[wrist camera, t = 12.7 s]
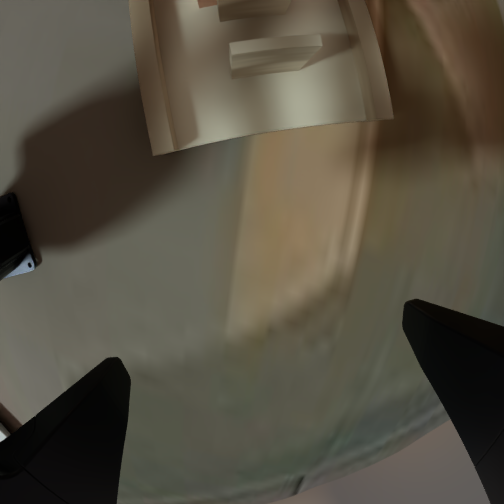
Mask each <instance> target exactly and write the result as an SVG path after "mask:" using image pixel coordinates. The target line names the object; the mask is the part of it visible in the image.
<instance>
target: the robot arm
mask: <svg viewBox="0 0 504 504" xmlns="http://www.w3.org/2000/svg"><path fill="white" fill-rule="evenodd" d="M10 197H11V200H10ZM30 263H31V264H32V265H31V264H30ZM36 267H37V263H36V260H35V257H34V254H33V251H32V249H31V246H30V243H29V240H28V237H27V233H26V230H25V227H24V224H23V220H22V217H21V213H20V210H19V206H18V202H17V198H16V195H15V194H14V193H13V192H11V193H8V194H6V195H4V196H2V197H0V281H1V280H2V279H4V278H7V277H11V276H14V275H18V274H22V273H26V272H29V271H32V270H34V269H35V268H36ZM402 327H403V330H404V333H405V335H406V337H407V339H408V341H409V343H410V345H411V347H412V349H413V351H414V354H415V356H416V358H417V360H418V362H419V364H420V366H421V368H422V370H423V372H424V373H425V375H426V377H427V378H428V380H429V382H430V383H431V385H432V387H433V388H434V390H435V392H436V394H437V395H438V397H439V399H440V401H441V403H442V404H443V406H444V408H445V410H446V412H447V413H448V415H449V417H450V419H451V421H452V423H453V424H454V426H455V428H456V430H457V432H458V434H459V436H460V438H461V440H462V442H463V444H464V446H465V448H466V450H467V452H468V454H469V456H470V458H471V460H472V462H473V464H474V466H475V469H476V471H477V473H478V475H479V478H480V480H481V482H482V484H483V487H484V489H485V491H486V494H487V496H488V498H489V501H490V503H491V504H504V326H500V325H497V324H494V323H491V322H488V321H485V320H482V319H479V318H476V317H473V316H470V315H466V314H463V313H460V312H457V311H454V310H451V309H448V308H445V307H442V306H438V305H435V304H432V303H429V302H426V301H423V300H420V299H413V300H409V301H407V302H405V304H404V310H403V320H402ZM130 387H131V379H130V376H129V374H128V372H127V370H126V368H125V366H124V365H123V363H122V361H121V359H120V358H118V357H109V358H106V359H105V360H104V361H102V362H101V363H100V364H99V365H97V366H96V367H95V368H94V369H92V370H91V371H90V372H89V373H87V374H86V375H85V376H84V377H82V378H81V379H80V380H79V381H77V382H76V383H75V384H74V385H72V386H71V387H70V388H69V389H67V390H66V391H65V392H64V393H63V394H61V395H60V396H59V397H58V398H56V399H55V400H54V401H53V402H51V403H50V404H49V405H48V406H46V407H45V408H44V409H43V410H42V411H40V412H39V413H38V414H37V415H36V417H35V416H34V417H33V418H32V419H30V420H29V421H28V422H27V423H25V424H24V425H23V426H22V427H20V428H19V429H18V430H16V431H15V432H14V433H12V434H11V435H9V436H8V437H7V438H5V439H4V440H2V441H1V442H0V504H117V495H118V486H119V477H120V470H121V462H122V455H123V449H124V442H125V436H126V430H127V423H128V413H129V399H130Z"/></svg>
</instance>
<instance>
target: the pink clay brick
mask: <svg viewBox="0 0 504 504" xmlns="http://www.w3.org/2000/svg"><path fill="white" fill-rule="evenodd" d="M197 1H198V5H199V8H204V7H209V6H214V5H217V0H197Z"/></svg>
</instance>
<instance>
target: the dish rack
mask: <svg viewBox="0 0 504 504" xmlns="http://www.w3.org/2000/svg"><path fill="white" fill-rule="evenodd" d="M129 10H130V19H131V28H132V37H133V44H134V52H135V59H136V66H137V72H138V79H139V85H140V91H141V97H142V102H143V108H144V113H145V118H146V124H147V129H148V134H149V139H150V143H151V148H152V153H153V156H157V155H163V154H168V153H171V152H175V151H179V150H183V149H187V148H192V147H196V146H200V145H205V144H209V143H214V142H218V141H223V140H228V139H233V138H238V137H244V136H249V135H255V134H261V133H267V132H273V131H280V130H286V129H294V128H301V127H309V126H318V125H327V124H337V123H349V122H363V121H377V120H387V119H394V116H393V110H392V104H391V99H390V93H389V88H388V83H387V79H386V74H385V69H384V65H383V61H382V57H381V53H380V49H379V45H378V41H377V38H376V34H375V31H374V27H373V24H372V21H371V18H370V15H369V11H368V8H367V5H366V2H365V0H217V5H214V6H209V7H204V8H199V5H198V1H197V0H129Z"/></svg>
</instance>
